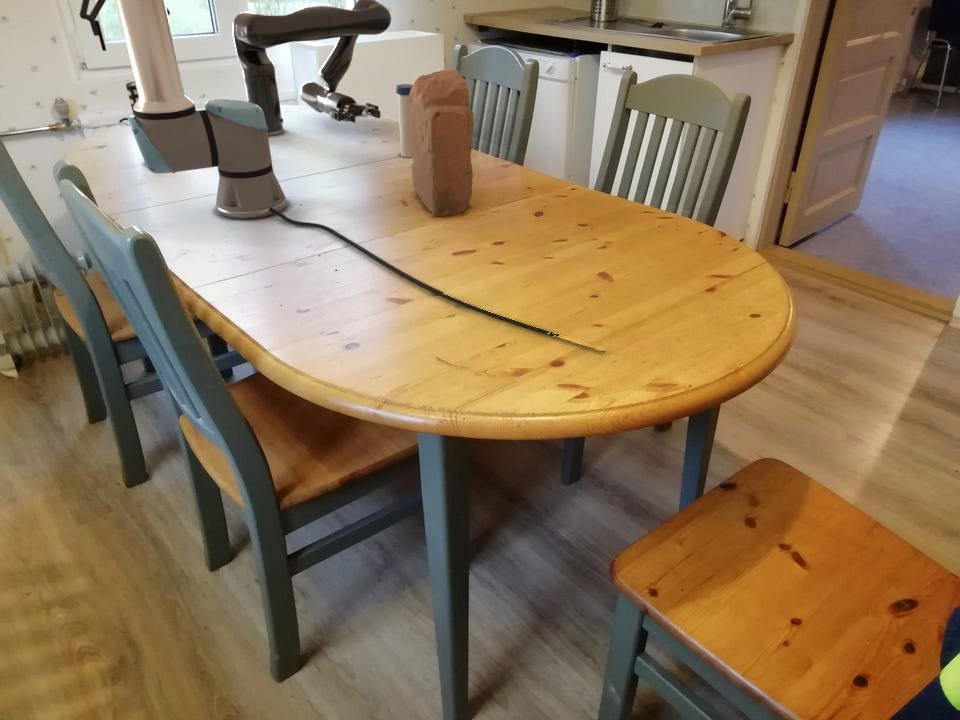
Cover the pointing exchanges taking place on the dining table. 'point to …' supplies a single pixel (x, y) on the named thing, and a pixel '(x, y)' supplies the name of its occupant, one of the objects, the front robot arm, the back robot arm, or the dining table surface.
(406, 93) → the lid
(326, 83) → the back robot arm
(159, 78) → the front robot arm
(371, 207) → the dining table surface
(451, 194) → the stone
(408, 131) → the white cylinder
